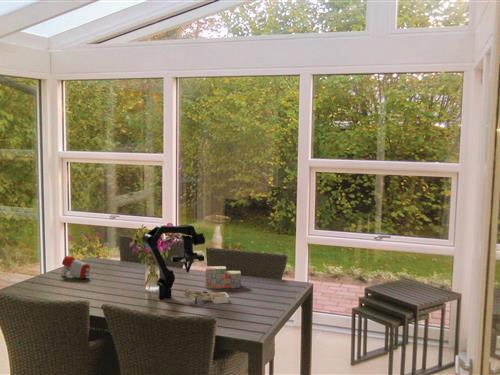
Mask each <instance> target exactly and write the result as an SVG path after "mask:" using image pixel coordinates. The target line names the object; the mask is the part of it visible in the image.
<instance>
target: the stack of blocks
mask: <svg viewBox="0 0 500 375" xmlns="http://www.w3.org/2000/svg"><path fill="white" fill-rule="evenodd" d="M241 288H242V273H241V270H227V267H226V265H219V266H218V265H216V266H214V265H213V266H211V265H210V266H205V289H241Z"/></svg>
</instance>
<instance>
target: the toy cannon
mask: <svg viewBox="0 0 500 375" xmlns="http://www.w3.org/2000/svg"><path fill="white" fill-rule="evenodd" d="M61 262H62V263H61V264H62V266H63V268H62V271H61V276H62V277H67V274H68V272H69V275H70V276H72V277H75V278H76V279H79V280H84V279H86V278H88V277H90V276H91V273H90V269H91V265H90V264H88V263H85V262H83V261H80V260H79V259H76V258H75V257H73V256H69V255H67V256H64V258H63V260H62V261H61Z"/></svg>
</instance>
